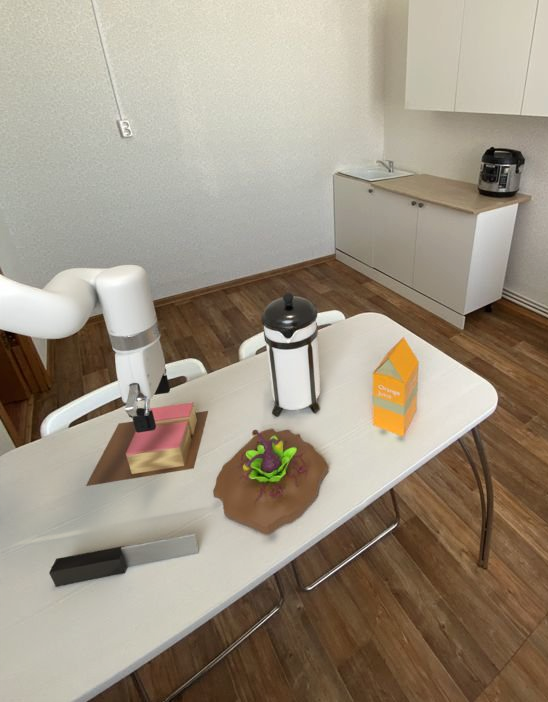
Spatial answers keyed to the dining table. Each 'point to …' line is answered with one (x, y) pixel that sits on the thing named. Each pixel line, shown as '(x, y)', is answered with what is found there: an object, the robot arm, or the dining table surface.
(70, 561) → the knife
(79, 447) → the dining table surface
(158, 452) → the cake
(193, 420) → the cake slice
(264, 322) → the coffee press
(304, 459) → the plant
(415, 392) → the orange juice
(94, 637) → the dining table surface
